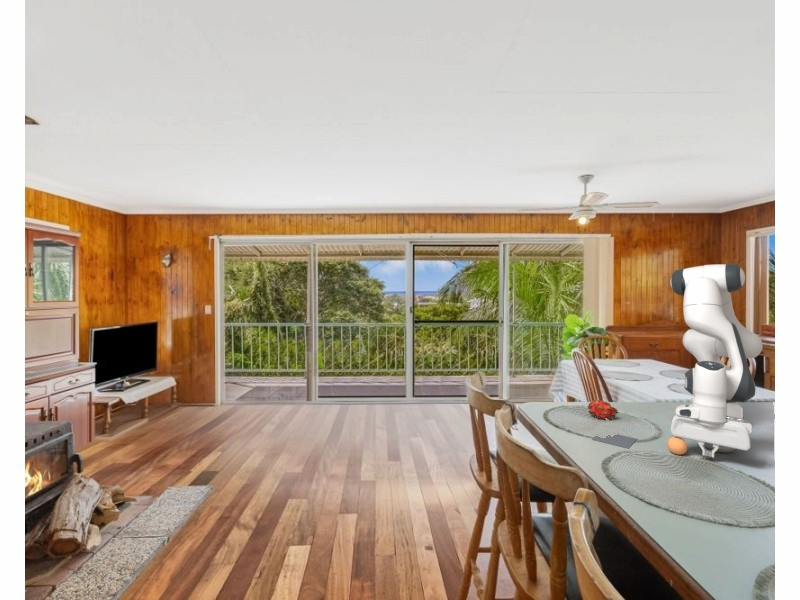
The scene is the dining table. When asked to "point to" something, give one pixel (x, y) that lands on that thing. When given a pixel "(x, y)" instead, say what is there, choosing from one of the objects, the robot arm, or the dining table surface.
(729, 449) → the teacup
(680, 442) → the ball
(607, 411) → the dragon fruit
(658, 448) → the dining table surface
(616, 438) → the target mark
